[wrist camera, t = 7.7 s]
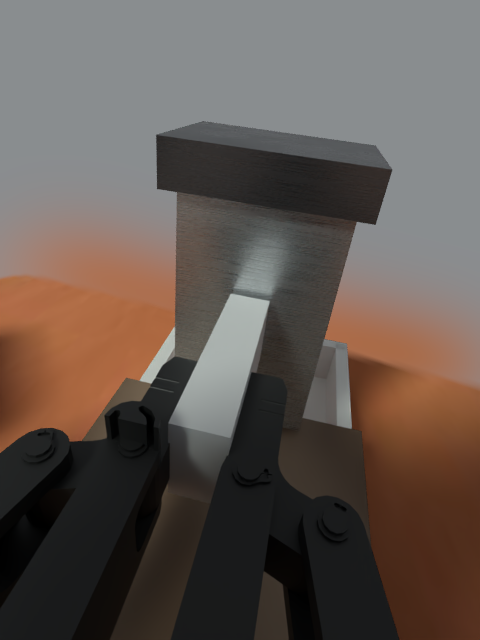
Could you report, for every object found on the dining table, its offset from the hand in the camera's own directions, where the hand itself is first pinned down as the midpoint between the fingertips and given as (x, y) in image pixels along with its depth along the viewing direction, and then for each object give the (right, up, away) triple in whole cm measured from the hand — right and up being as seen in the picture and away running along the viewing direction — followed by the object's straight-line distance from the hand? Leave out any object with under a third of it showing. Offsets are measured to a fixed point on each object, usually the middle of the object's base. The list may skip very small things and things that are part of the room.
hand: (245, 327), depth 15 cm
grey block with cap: (0, -3, +5) cm, 6 cm away
